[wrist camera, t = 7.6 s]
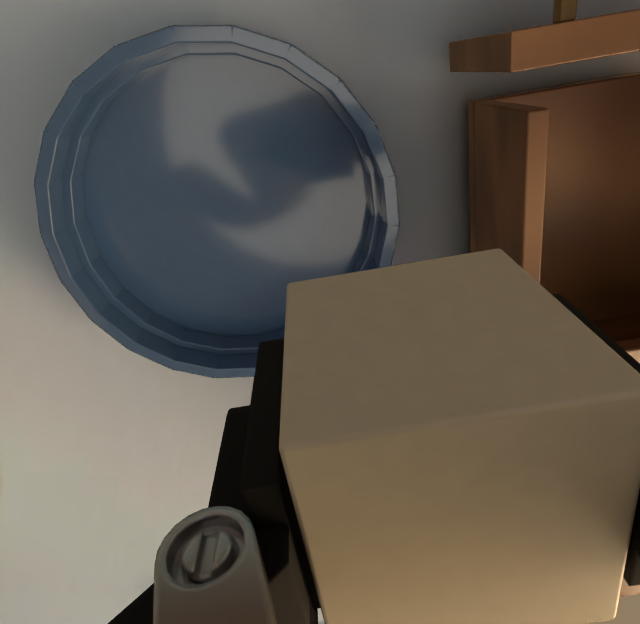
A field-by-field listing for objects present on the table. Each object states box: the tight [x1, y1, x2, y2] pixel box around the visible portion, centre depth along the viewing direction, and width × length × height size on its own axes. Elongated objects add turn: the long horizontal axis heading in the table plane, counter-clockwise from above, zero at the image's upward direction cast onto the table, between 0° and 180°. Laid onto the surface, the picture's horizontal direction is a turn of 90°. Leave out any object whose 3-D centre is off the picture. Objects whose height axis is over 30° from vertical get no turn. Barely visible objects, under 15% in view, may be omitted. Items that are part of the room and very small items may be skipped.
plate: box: [34, 25, 400, 378], centre depth 24 cm, size 16×16×3 cm
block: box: [279, 248, 640, 624], centre depth 9 cm, size 4×4×5 cm
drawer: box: [449, 0, 640, 342], centre depth 21 cm, size 20×11×7 cm, turn 9°
